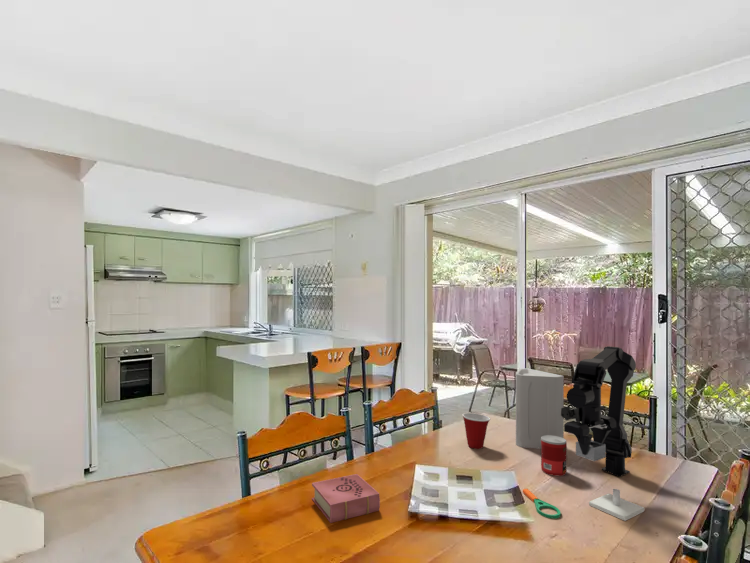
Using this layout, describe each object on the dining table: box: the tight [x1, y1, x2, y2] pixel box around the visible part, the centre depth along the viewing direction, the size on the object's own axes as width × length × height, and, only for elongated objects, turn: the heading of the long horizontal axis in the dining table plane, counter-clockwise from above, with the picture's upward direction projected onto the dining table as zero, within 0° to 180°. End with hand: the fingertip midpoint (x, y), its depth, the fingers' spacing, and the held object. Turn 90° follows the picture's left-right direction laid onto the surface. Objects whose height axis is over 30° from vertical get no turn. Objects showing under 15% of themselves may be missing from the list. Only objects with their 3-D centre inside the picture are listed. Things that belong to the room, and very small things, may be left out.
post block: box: [588, 488, 645, 522], centre depth 123 cm, size 10×10×5 cm
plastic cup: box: [461, 412, 491, 450], centre depth 171 cm, size 11×11×12 cm
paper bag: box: [515, 367, 565, 450], centre depth 176 cm, size 19×15×28 cm
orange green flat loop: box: [522, 488, 562, 520], centre depth 124 cm, size 15×6×2 cm, turn 12°
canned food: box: [540, 435, 568, 477], centre depth 148 cm, size 8×8×11 cm
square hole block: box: [575, 439, 606, 462], centre depth 135 cm, size 6×6×4 cm
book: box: [311, 473, 381, 524], centre depth 123 cm, size 14×15×5 cm
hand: (590, 452), depth 135 cm, fingers closed on square hole block, 6 cm apart
